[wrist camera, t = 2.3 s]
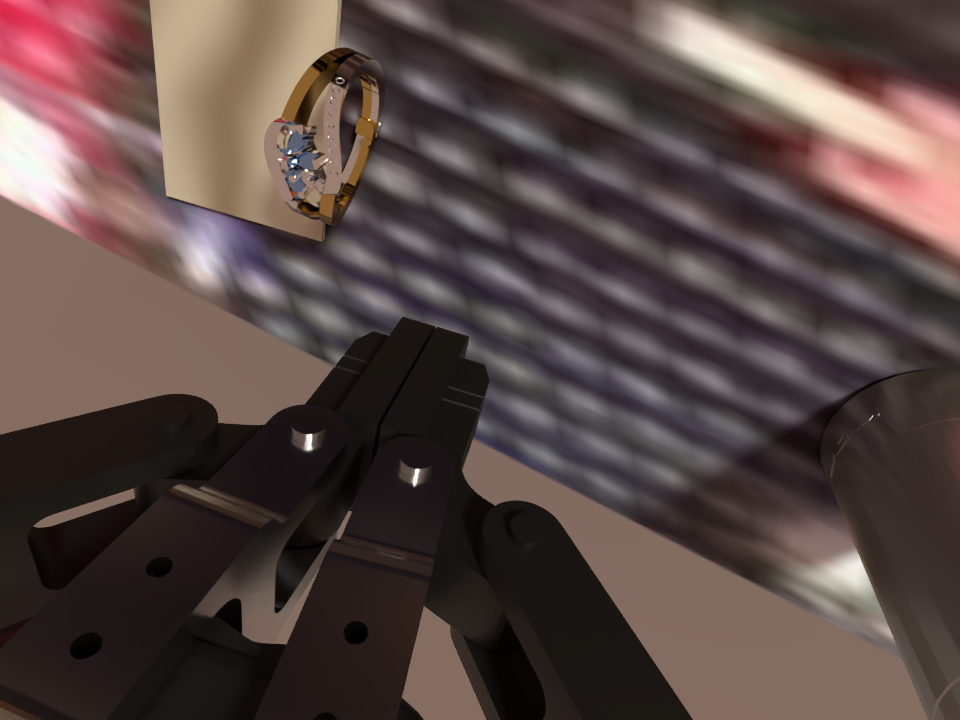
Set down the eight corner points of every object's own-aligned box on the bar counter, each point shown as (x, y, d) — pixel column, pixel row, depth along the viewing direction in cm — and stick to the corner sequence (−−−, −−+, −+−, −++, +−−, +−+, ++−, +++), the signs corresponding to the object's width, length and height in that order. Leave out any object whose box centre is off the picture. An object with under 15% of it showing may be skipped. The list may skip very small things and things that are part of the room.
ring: (383, 205, 30) (314, 263, 23) (326, 178, 30) (240, 229, 23) (426, 64, 26) (357, 86, 19) (360, 33, 26) (269, 44, 19)
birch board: (345, -47, 25) (341, -48, 24) (324, 239, 32) (321, 241, 31) (147, -99, 25) (141, -100, 25) (171, 193, 32) (166, 195, 32)
